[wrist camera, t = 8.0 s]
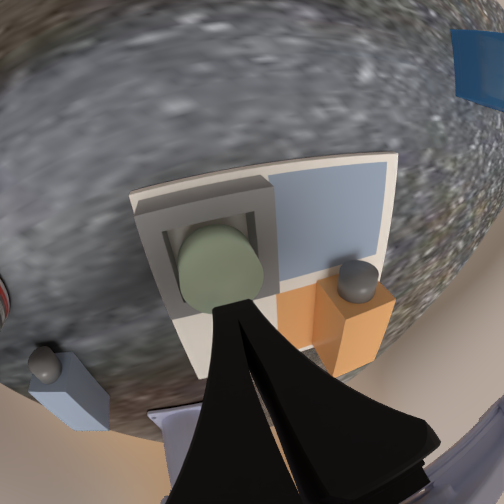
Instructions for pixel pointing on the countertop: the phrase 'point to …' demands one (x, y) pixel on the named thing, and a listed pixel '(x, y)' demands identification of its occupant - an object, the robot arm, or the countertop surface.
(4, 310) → the pill bottle
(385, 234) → the sheet
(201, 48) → the countertop surface
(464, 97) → the perfume bottle
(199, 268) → the button
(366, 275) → the orange marker
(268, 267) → the button housing
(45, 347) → the grey-capped blue block
